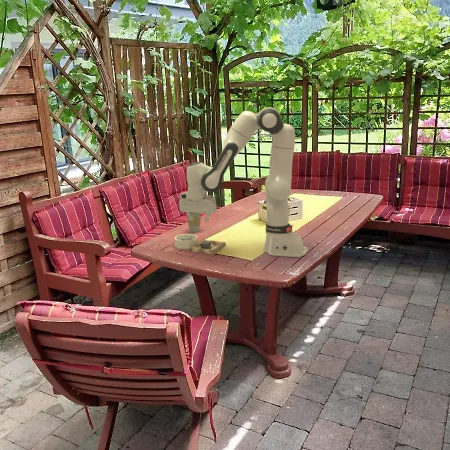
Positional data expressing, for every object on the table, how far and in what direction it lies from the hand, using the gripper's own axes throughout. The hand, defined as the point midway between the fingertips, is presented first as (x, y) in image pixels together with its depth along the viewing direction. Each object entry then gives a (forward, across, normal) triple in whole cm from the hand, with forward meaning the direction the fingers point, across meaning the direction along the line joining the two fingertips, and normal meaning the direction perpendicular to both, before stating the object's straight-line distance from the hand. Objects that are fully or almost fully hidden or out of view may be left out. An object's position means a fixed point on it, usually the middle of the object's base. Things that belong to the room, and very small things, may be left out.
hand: (199, 220), depth 243 cm
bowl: (+16, +10, -1) cm, 19 cm away
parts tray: (+16, -4, -1) cm, 17 cm away
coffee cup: (+16, +20, -26) cm, 37 cm away
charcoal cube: (+15, -4, +2) cm, 16 cm away
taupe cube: (+15, +10, -1) cm, 18 cm away
